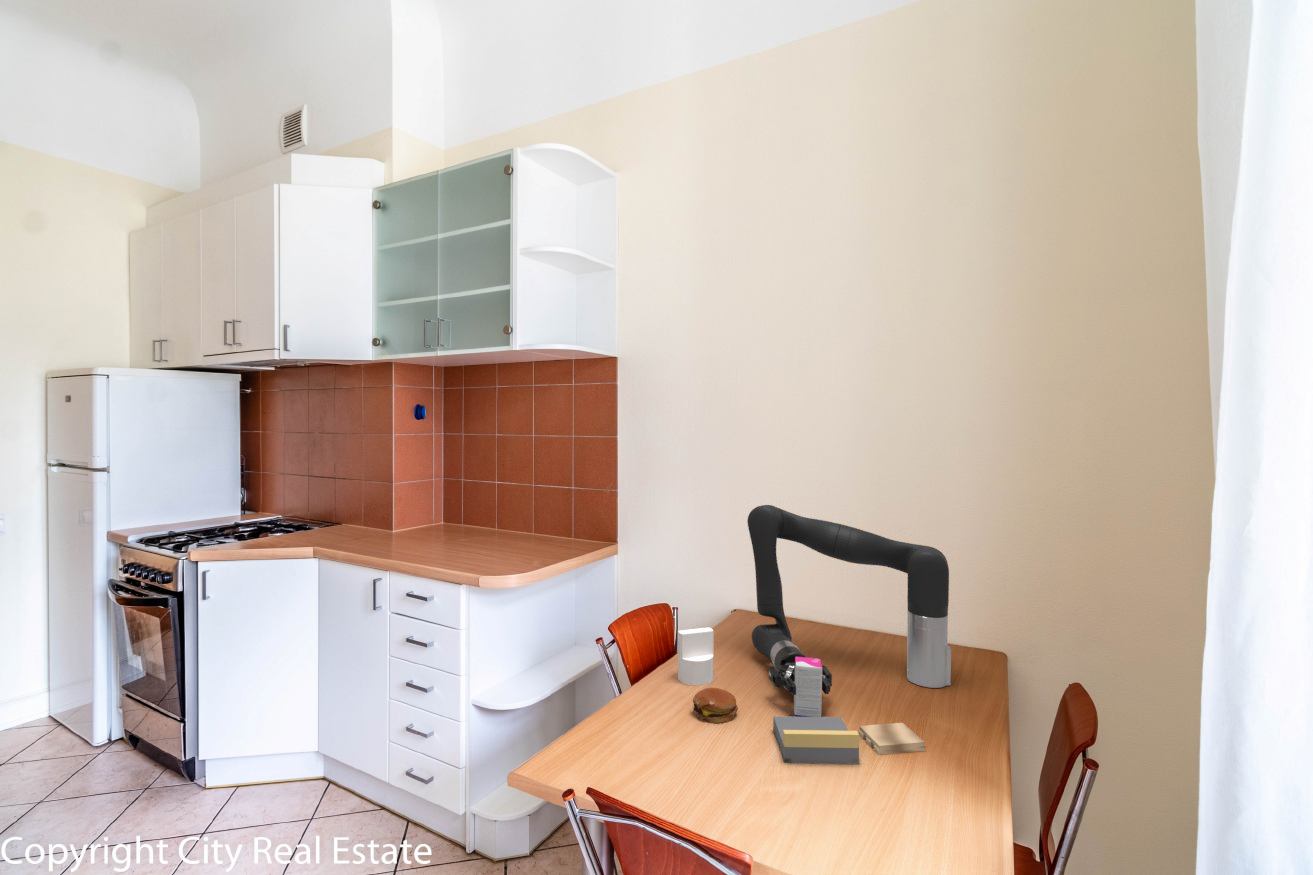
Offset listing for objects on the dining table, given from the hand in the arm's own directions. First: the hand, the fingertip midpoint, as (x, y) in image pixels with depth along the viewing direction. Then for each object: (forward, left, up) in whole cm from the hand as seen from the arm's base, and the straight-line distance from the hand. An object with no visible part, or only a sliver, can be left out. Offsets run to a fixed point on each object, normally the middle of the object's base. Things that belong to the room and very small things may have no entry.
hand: (811, 690), depth 130 cm
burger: (+21, -1, -7) cm, 22 cm away
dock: (+2, +12, -6) cm, 13 cm away
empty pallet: (-14, +10, -6) cm, 18 cm away
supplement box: (0, -2, -6) cm, 7 cm away
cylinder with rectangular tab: (+24, -20, -6) cm, 32 cm away
